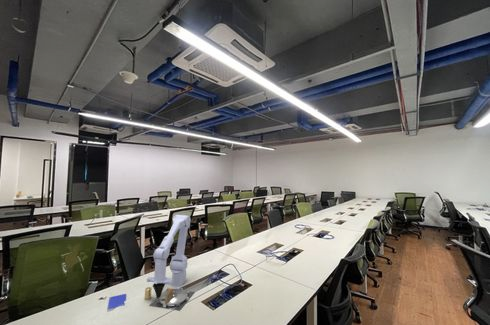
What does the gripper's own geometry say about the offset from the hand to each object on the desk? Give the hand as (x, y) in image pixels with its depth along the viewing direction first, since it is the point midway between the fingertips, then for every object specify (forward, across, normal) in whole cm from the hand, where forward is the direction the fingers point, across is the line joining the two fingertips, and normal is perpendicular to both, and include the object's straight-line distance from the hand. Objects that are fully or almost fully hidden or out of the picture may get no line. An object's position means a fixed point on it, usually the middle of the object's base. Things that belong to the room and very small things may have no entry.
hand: (158, 296), depth 109 cm
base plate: (+3, +6, +4) cm, 9 cm away
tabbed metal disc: (+2, +6, +4) cm, 8 cm away
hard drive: (+4, -22, -5) cm, 22 cm away
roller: (+3, -8, +2) cm, 8 cm away
